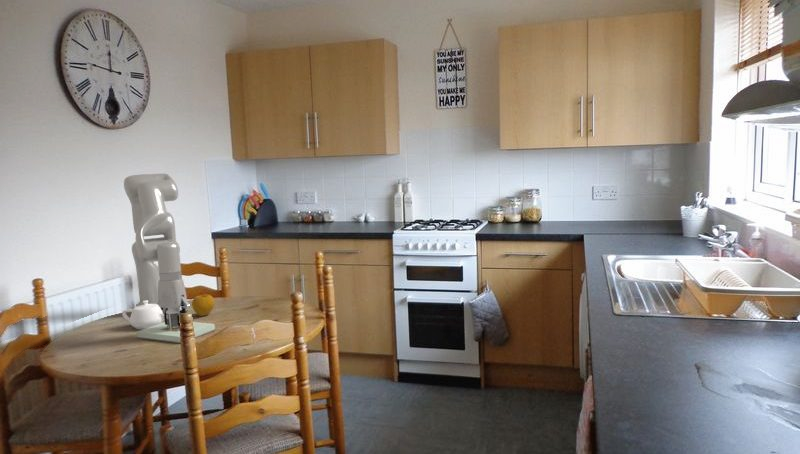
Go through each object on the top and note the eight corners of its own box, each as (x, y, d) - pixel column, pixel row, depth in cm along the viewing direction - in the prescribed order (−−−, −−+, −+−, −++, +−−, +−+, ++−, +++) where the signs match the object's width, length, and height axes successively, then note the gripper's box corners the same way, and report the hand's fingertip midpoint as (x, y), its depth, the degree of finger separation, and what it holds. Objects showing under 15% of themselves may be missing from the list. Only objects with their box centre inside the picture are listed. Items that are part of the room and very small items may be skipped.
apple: (206, 319, 230) (204, 297, 229) (188, 318, 233) (185, 296, 232) (220, 312, 239) (218, 291, 238) (202, 312, 242) (200, 291, 241)
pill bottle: (186, 327, 214) (184, 301, 213) (179, 332, 209) (177, 305, 207) (172, 327, 215) (170, 301, 213) (164, 332, 209) (162, 305, 208)
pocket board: (137, 338, 209) (136, 331, 209) (172, 325, 224) (171, 319, 223) (181, 343, 200) (181, 337, 199) (215, 330, 214) (214, 323, 214)
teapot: (180, 320, 231) (178, 295, 229) (167, 329, 218) (164, 303, 217) (132, 322, 231) (129, 298, 230) (116, 332, 219) (113, 306, 218)
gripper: (145, 277, 210) (150, 325, 212) (180, 279, 202) (185, 329, 204) (161, 273, 216) (166, 319, 219) (196, 275, 209) (200, 323, 211)
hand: (175, 324), depth 211 cm, fingers open, 5 cm apart
